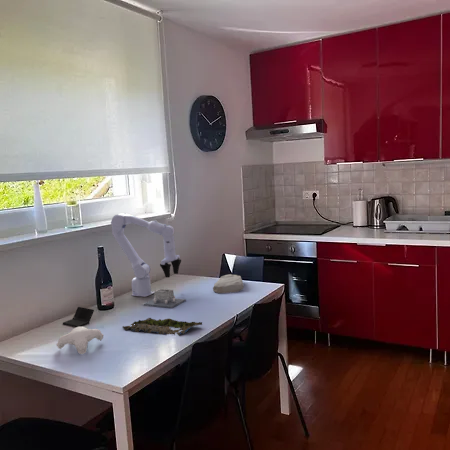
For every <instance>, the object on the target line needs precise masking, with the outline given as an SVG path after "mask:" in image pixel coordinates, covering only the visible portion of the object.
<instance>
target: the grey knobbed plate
mask: <svg viewBox="0 0 450 450" xmlns="http://www.w3.org/2000/svg"><path fill="white" fill-rule="evenodd" d="M186 300H187V299H185V298H176V295H174V298H173V302H171V303H167V300H165V303H160V302H156V299H155V296H154V297H153V299H151V300H149V301H147V302H144V303H143V306H145V307H147V306H148V307H154V308H155V307H156V308H164V309H173V308H175V307H177V306H179V305H181V304H182V303H185V302H187V301H186ZM184 301H185V302H184Z"/></svg>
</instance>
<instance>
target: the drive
mask: <svg viewBox="0 0 450 450" xmlns="http://www.w3.org/2000/svg"><path fill="white" fill-rule="evenodd" d="M154 292H155V293H154V297H155V299H156V302H160V303H165V300H167V303H171V302H173V298H174V296H175V295H174V289H167V288H165V289H164V288H158V289H156V290H154Z"/></svg>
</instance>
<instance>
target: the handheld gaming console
mask: <svg viewBox="0 0 450 450" xmlns="http://www.w3.org/2000/svg"><path fill="white" fill-rule="evenodd" d="M75 310H76V311H75V312H74V315H73V317H72V318H71V319H68V320H65V321H63V322H62V325H64V326H68V327H72V328H76V327H85V326H87V325H89V324H90V322H91V319H92V316H93V314H94V312H95V309H91V308H86V307H82V306H78V307H77V309H75Z"/></svg>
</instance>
